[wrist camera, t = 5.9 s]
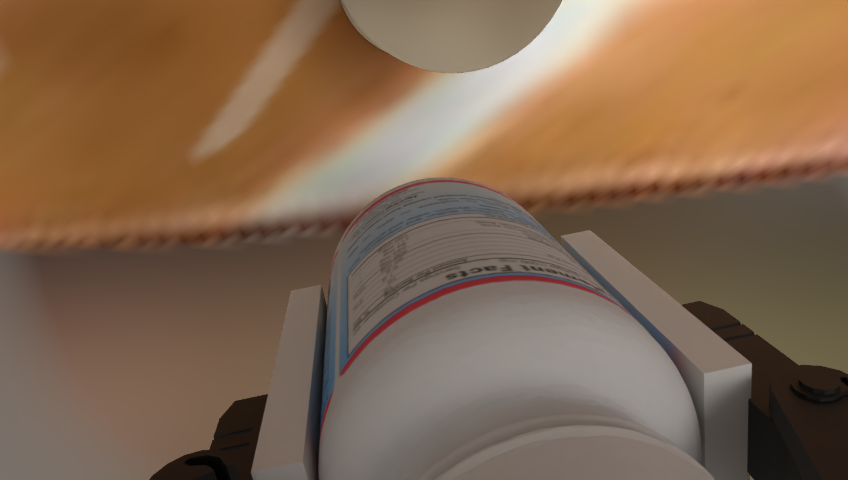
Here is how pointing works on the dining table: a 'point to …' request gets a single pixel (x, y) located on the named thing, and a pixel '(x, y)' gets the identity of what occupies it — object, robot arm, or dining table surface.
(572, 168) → the dining table surface
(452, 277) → the pill bottle
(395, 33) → the wooden thread spool
